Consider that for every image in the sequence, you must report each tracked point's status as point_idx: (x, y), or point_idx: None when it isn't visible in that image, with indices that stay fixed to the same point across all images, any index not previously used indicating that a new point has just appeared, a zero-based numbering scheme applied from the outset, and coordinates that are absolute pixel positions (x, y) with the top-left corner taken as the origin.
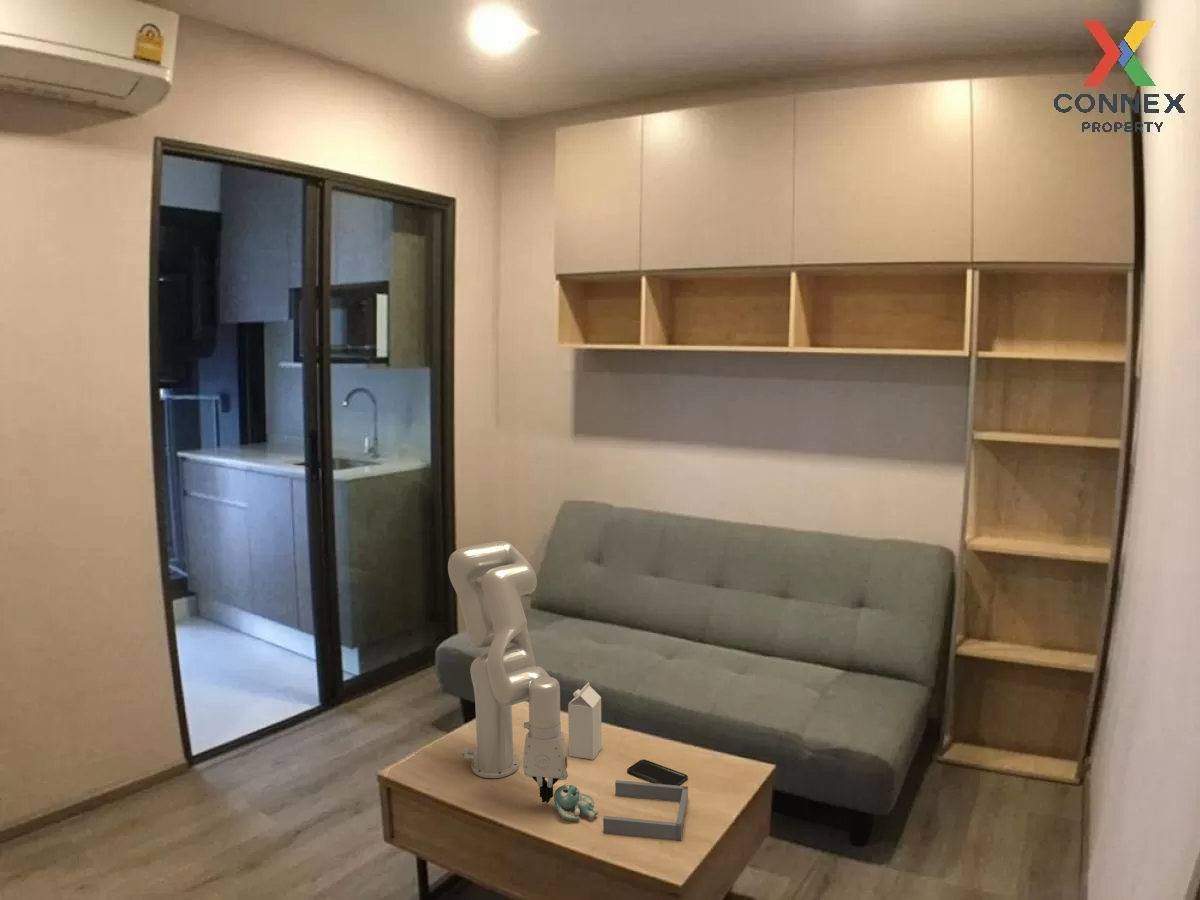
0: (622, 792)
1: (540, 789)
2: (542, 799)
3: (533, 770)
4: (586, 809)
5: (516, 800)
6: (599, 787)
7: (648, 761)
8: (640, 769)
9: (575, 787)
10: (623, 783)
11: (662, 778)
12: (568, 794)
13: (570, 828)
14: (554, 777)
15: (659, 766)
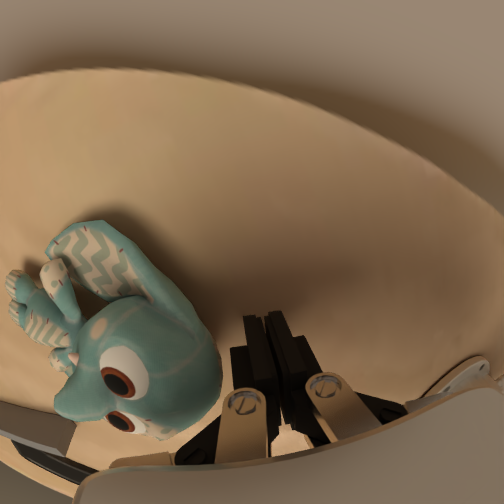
0: (50, 422)
1: (312, 365)
2: (280, 319)
3: (456, 457)
4: (28, 302)
5: (395, 308)
6: (134, 444)
7: None
8: None
9: (55, 404)
10: (38, 443)
11: (43, 457)
12: (85, 357)
13: (69, 181)
14: (158, 475)
15: (79, 483)
